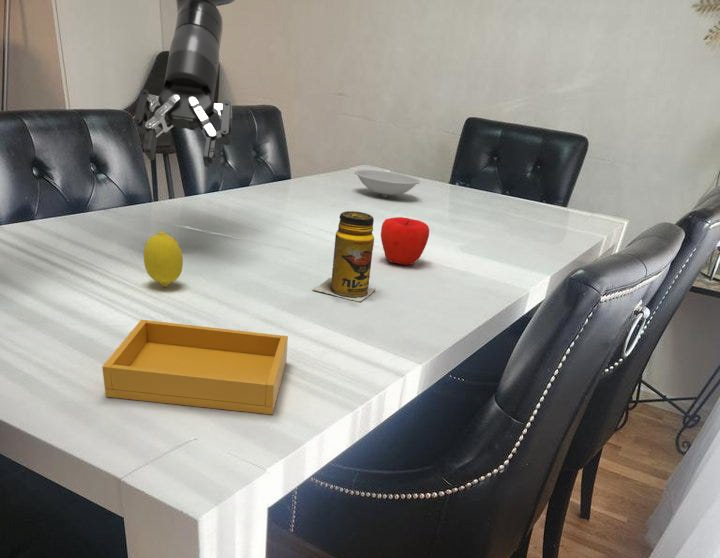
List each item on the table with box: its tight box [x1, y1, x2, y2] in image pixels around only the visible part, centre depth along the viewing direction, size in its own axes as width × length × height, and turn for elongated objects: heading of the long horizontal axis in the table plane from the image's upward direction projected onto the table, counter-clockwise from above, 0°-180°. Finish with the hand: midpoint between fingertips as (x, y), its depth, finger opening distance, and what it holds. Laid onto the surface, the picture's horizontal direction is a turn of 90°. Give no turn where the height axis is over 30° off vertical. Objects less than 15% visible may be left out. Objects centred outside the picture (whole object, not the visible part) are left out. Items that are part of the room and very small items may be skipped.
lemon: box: [143, 231, 184, 288], centre depth 95 cm, size 6×6×8 cm
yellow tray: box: [101, 319, 289, 415], centre depth 73 cm, size 18×14×4 cm
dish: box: [354, 169, 421, 198], centre depth 172 cm, size 18×14×5 cm
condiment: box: [311, 210, 377, 302], centre depth 102 cm, size 7×8×12 cm
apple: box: [380, 216, 430, 266], centre depth 120 cm, size 9×9×8 cm
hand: (178, 160), depth 98 cm, fingers open, 8 cm apart
